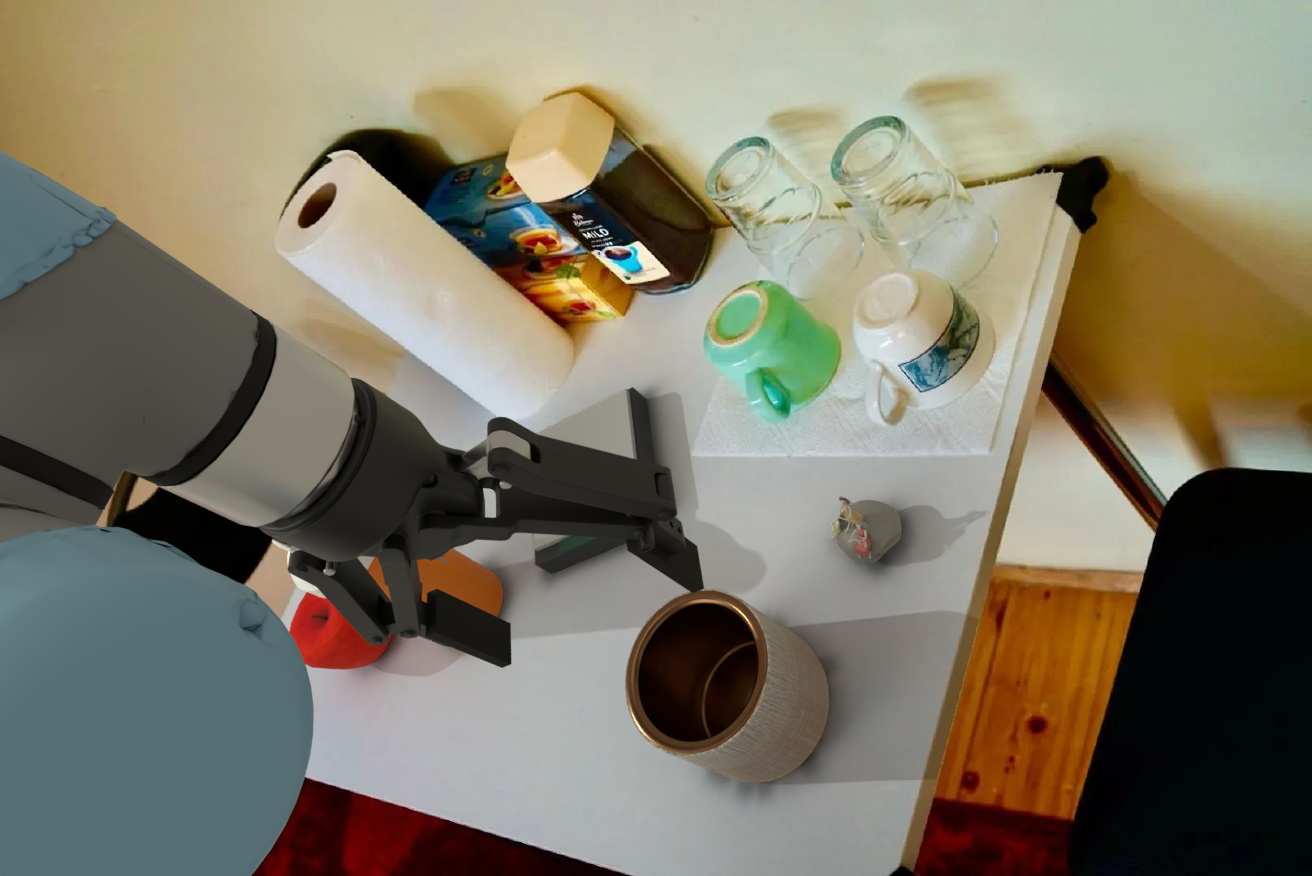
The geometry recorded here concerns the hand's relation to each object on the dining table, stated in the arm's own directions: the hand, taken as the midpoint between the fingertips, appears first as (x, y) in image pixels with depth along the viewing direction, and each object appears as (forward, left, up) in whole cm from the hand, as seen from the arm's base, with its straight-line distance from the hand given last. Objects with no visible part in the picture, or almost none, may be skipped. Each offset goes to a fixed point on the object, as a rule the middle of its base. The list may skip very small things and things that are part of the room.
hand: (596, 609), depth 53 cm
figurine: (+7, -13, -18) cm, 23 cm away
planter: (-2, -2, -18) cm, 18 cm away
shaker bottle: (+15, +25, -18) cm, 35 cm away
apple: (+16, +38, -18) cm, 45 cm away
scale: (+22, +10, -18) cm, 30 cm away
